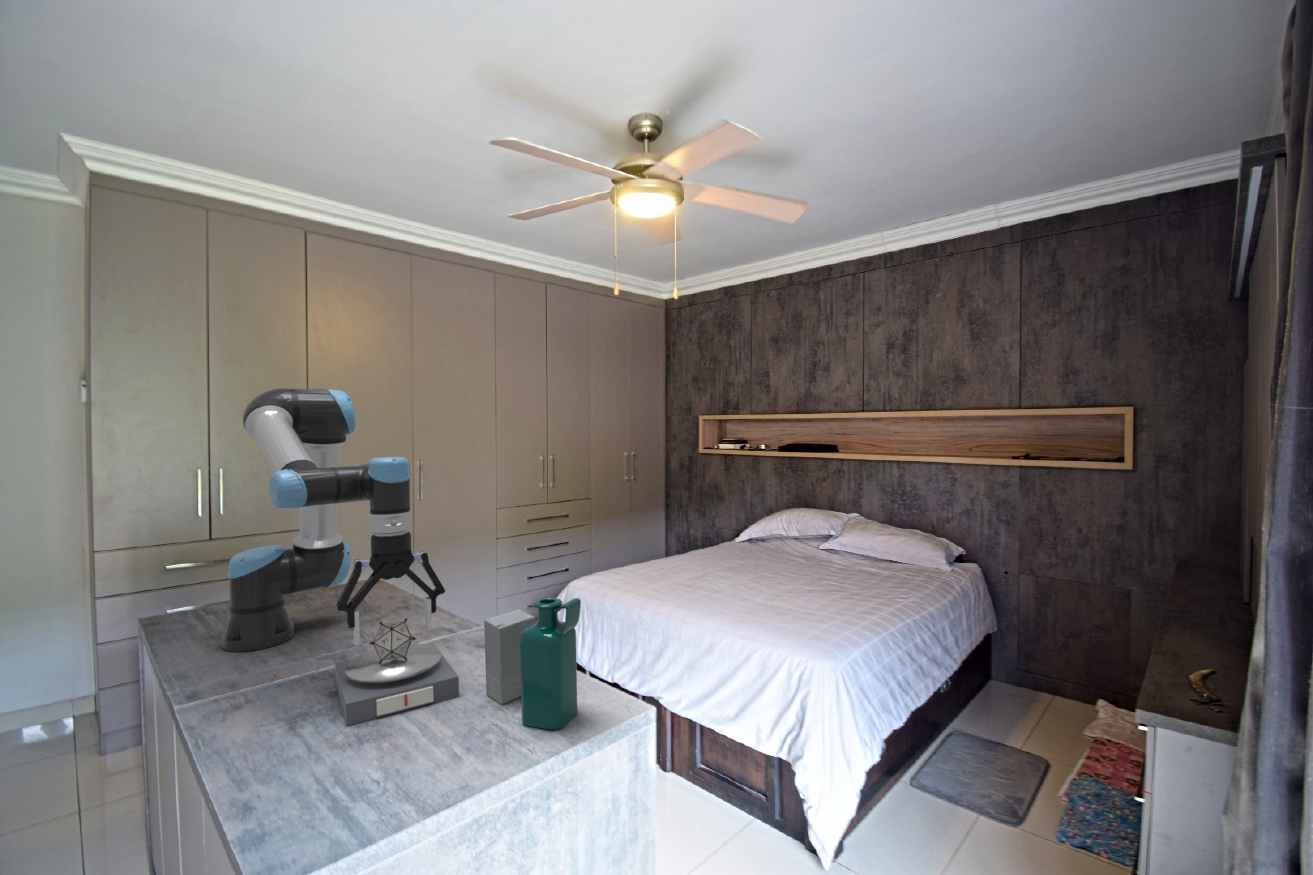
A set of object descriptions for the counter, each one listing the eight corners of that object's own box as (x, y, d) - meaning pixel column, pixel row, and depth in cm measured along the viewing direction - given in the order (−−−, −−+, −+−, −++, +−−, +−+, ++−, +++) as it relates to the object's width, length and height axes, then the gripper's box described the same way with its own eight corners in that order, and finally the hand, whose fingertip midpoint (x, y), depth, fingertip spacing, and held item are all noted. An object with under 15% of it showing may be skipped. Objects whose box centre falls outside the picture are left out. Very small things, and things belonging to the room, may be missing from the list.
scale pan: (341, 664, 124) (340, 655, 124) (430, 645, 134) (430, 637, 134) (350, 697, 109) (350, 687, 109) (450, 673, 119) (450, 664, 119)
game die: (397, 680, 120) (394, 652, 114) (362, 663, 121) (357, 635, 115) (426, 645, 127) (424, 617, 121) (392, 629, 128) (388, 601, 122)
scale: (335, 681, 125) (334, 663, 125) (433, 659, 136) (433, 642, 136) (347, 727, 106) (346, 706, 106) (460, 697, 117) (459, 678, 117)
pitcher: (517, 725, 106) (514, 603, 105) (542, 703, 114) (540, 591, 113) (565, 734, 103) (562, 609, 102) (587, 711, 110) (585, 595, 110)
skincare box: (520, 681, 124) (518, 607, 123) (539, 692, 119) (537, 614, 118) (483, 695, 118) (481, 616, 118) (501, 707, 113) (499, 625, 112)
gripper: (322, 543, 111) (325, 655, 111) (458, 528, 124) (460, 628, 125) (319, 537, 117) (322, 642, 117) (449, 523, 130) (451, 618, 131)
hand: (393, 635), depth 121 cm, fingers open, 13 cm apart
